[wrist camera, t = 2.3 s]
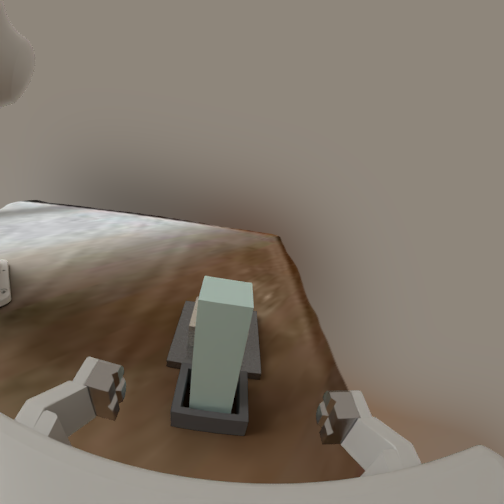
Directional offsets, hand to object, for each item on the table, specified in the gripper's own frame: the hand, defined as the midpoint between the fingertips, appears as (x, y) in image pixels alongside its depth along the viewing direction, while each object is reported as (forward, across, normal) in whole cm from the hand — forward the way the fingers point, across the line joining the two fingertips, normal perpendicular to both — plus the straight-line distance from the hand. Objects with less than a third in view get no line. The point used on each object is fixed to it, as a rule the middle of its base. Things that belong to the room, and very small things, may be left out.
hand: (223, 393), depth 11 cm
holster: (+13, 0, +16) cm, 20 cm away
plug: (+13, 0, +16) cm, 20 cm away
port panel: (+25, 0, +16) cm, 29 cm away
